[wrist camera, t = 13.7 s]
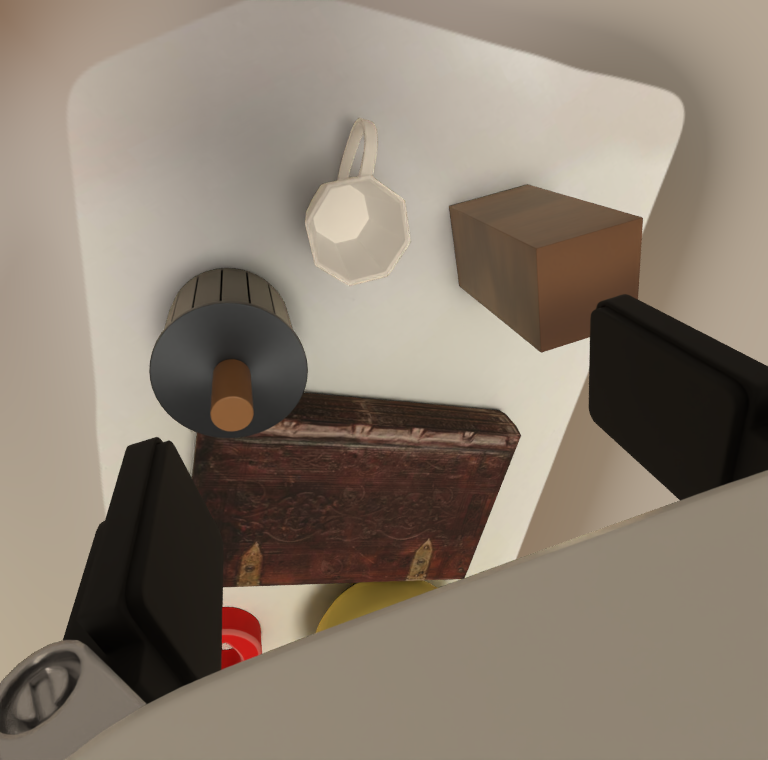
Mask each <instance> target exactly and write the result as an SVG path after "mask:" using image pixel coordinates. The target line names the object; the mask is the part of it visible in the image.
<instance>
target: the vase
mask: <svg viewBox="0 0 768 760" xmlns="http://www.w3.org/2000/svg"><path fill="white" fill-rule="evenodd" d="M434 589H437V588H436V587H435V586H433V585H431V584H430V583H428V582H425V581H423V580H418V581H390V582H361V583H357V584H355V585H353V586H352V587H350V588H348V589H347V590H346V591H345V592H343V593H342V594H341V595H340V596H339V597H337V598H336V600H335V601H334V602H333V604H332V605H331V606H330V607H329V609H328V610H327V612H326V613H325V615H324V616H323V618H322V619H321V621H320V623H319V625H318V628H317V630H316V633H317V632H320V631H323V630H326V629H328V628H331V627H334V626H336V625H339V624H342V623H345V622H347V621H350V620H353V619H355V618H358V617H361V616H363V615H366V614H369V613H372V612H374V611H377V610H380V609H382V608H385V607H388V606H391V605H393V604H396V603H399V602H401V601H404V600H407V599H410V598H412V597H415V596H418V595H420V594H423V593H426V592H428V591H431V590H434Z"/></svg>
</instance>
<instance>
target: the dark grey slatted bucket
mask: <svg viewBox="0 0 768 760" xmlns="http://www.w3.org/2000/svg"><path fill="white" fill-rule="evenodd" d="M216 301H240V302H247V303H251V304H254V305H258V306H260V307H262V308H265V309H267V310H269V311H271V312H273V313H274V314H276V315H277V316H279V317H280V318H281V319H283V320H284V321H285V322H286V323H287V324H288V325H289V326H290V327H291V328H292V325H291V321H290V318H289V315H288V312H287V308H286V306H285V302H284V301H283V299H282V297H281V296H280V294H279V293H278V292H277V290H276V289H275V288H274V287H273V286H272V285H271V284H270V283H268V282H267V281H266V280H265V279H263V278H261V277H260V276H258V275H256V274H253V273H251V272H248V271H245V270H241V269H235V268H221V269H214V270H210V271H207V272H204V273H201V274H199V275H197V276H195V277H194V278H193V279H191V280H190V281H188V282H187V283H186V284H185V285H184V286H183V287H182V288H181V289H180V291H179V292H178V294H177V295H176V297H175V299H174V301H173V304H172V306H171V308H170V310H169V314H168V317H167V321H166V324H165V328H166V327H167V325H168V324H170V323H171V322H172V321H173V320H174V319H175V318H176V317H178V316H179V315H181V314H182V313H184V312H186V311H188V310H190V309H192V308H194V307H196V306H199V305H202V304H206V303H210V302H216ZM165 328H164V329H165Z"/></svg>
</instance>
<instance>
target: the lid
mask: <svg viewBox="0 0 768 760" xmlns="http://www.w3.org/2000/svg"><path fill="white" fill-rule="evenodd" d="M149 372H150V381H151V385H152V389H153V391H154V394H155V396H156V398H157V400H158V401H159V403H160V405H161V406H162V407H163V408H164V410H165V411H166V412H167V413H168V414H169V415H170V416H171V417H172V418H173V419H174V420H176V421H177V422H178V423H180V424H181V425H183V426H185V427H186V428H188V429H190V430H193V431H195V432H197V433H200V434H204V435H207V436H212V437H218V438H240V437H246V436H250V435H254V434H258V433H260V432H263V431H265V430H267V429H269V428H271V427H273V426H275V425H276V424H278V423H279V422H281V421H282V420H283V419H284V418H285V417H287V416H288V415H289V414H290V413H291V411H292V410H293V409H294V408H295V406H296V405H297V404H298V402H299V400H300V399H301V397H302V395H303V392H304V389H305V387H306V382H307V373H308V367H307V359H306V355H305V351H304V349H303V346H302V344H301V341H300V340H299V338H298V336H297V335H296V333H295V332H294V331H293V329H292V328H291V327H290V326H289V325H288V324H287V323H286V322H285V321H284V320H283V319H281V318H280V317H279V316H277V315H276V314H274V313H273V312H271V311H269V310H267V309H265V308H262V307H260V306H258V305H254V304H251V303H247V302H240V301H216V302H210V303H206V304H202V305H199V306H196V307H194V308H192V309H190V310H188V311H186V312H184V313H182V314H181V315H179V316H178V317H176V318H175V319H174V320H173V321H172V322H171V323H170V324H168V325H167V327H166V328H165V329H164V330H163V332H162V333H161V334H160V336H159V338H158V339H157V341H156V344H155V346H154V349H153V351H152V355H151V360H150V370H149Z"/></svg>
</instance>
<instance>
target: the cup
mask: <svg viewBox="0 0 768 760" xmlns="http://www.w3.org/2000/svg"><path fill="white" fill-rule="evenodd" d="M363 133H364V143H365V144H364V153H363V158H362V162H361V167H360V171H359V175H358V177H351V178H349V174H350V170H351V167H352V163H353V160H354V157H355V154H356V151H357V148H358V145H359V143H360V140H361V137H362V135H363ZM377 146H378V139H377V129H376V127H375V125H374V123H373V122H371V121H369V120H365V119H361V118H358V119H357V120H356V121H355V123H354V125H353V127H352V130H351V132H350V135H349V138H348V141H347V144H346V148H345V151H344V154H343V157H342V161H341V165H340V169H339V173H338V179H337V181H333V182H329V183H324V184H322V185H320V187H319V188H318V190H317V192H316V194H315V195H314V197H313V199H312V200H311V202H310V204H309V207H308V209H307V211H306V219H305V226H306V230H307V235H308V239H309V243H310V247H311V251H312V255H313V259H314V263H315V266H317V267H318V268H320V269H322V270H323V271H325V272H327V273H328V274H330V275H332V276H334V277H335V278H337V279H339V280H340V281H342V282H344V283H345V284H347V285H349V286H351V285H355V284H359V283H363V282H367V281H371V280H375V279H379V278H383V277H387V276H388V275H389V274H390V272H391V271H392V269H393V268H394V266H395V265H396V263H397V262H398V260H399V259H400V257H401V256H402V254H403V253H404V251H405V250H406V248H407V247H408V245H409V244H410V242H411V240H410V233H409V226H408V219H407V212H406V205H405V200H404V199H402V198H401V197H400V196H398V195H397V194H396V193H394V192H393V191H392V190H390V189H389V188H387V187H386V186H385V185H383V184H382V183H381V182H379V181H378V180H377V179H375V178H374V177H373V172H374V168H375V162H376V156H377Z"/></svg>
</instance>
